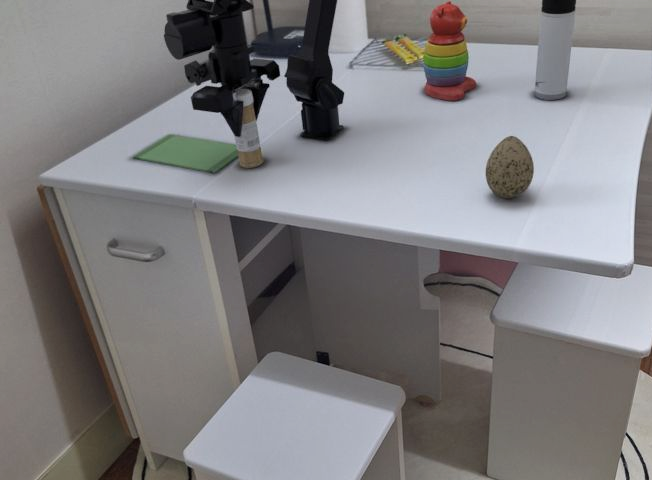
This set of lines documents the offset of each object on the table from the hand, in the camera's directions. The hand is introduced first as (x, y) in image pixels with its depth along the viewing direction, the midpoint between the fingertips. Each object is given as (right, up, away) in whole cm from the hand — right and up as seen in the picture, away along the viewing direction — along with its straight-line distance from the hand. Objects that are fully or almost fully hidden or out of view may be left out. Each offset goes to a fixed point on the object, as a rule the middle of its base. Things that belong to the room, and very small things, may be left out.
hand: (245, 131), depth 124 cm
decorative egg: (+43, -14, -15) cm, 48 cm away
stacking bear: (+40, +14, +25) cm, 50 cm away
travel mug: (+60, +11, +18) cm, 64 cm away
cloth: (-12, -2, +10) cm, 15 cm away
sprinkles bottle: (+1, -5, +4) cm, 7 cm away
